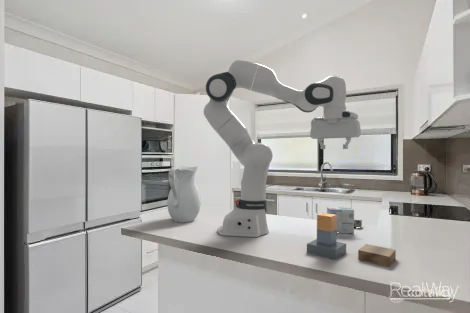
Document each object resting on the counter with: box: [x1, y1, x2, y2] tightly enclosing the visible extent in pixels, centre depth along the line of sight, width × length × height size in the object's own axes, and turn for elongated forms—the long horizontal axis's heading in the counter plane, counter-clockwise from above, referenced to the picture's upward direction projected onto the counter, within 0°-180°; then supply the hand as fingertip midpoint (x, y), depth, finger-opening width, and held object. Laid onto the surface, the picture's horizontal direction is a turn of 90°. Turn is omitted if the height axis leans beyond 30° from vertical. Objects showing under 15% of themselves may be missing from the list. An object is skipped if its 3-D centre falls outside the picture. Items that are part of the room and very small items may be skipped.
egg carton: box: [354, 219, 363, 228], centre depth 137 cm, size 11×8×4 cm
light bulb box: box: [326, 206, 355, 234], centre depth 126 cm, size 11×7×11 cm, turn 84°
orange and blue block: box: [316, 212, 338, 247], centre depth 96 cm, size 5×5×10 cm
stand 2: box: [357, 243, 397, 267], centre depth 90 cm, size 9×9×3 cm
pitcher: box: [166, 165, 202, 223], centre depth 140 cm, size 24×17×28 cm
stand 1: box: [306, 238, 347, 260], centre depth 96 cm, size 10×10×3 cm
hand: (333, 149), depth 115 cm, fingers open, 8 cm apart
